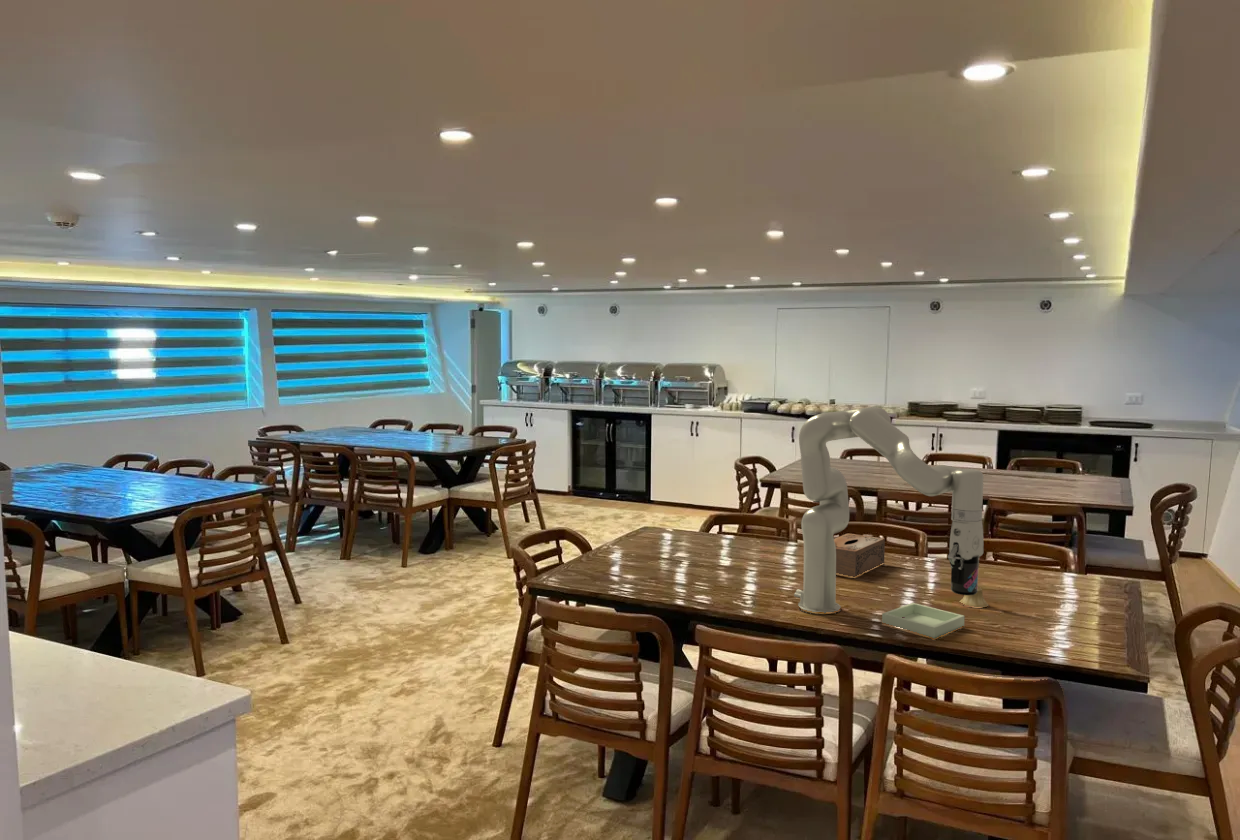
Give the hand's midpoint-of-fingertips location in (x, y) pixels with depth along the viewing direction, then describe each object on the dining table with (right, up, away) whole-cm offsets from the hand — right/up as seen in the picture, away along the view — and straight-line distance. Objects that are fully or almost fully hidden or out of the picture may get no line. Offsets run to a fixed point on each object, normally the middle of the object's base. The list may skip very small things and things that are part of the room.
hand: (964, 580), depth 218 cm
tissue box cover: (-9, -11, +76) cm, 78 cm away
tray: (-6, -16, +12) cm, 21 cm away
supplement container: (0, -3, 0) cm, 4 cm away
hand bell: (+17, -14, +33) cm, 39 cm away
